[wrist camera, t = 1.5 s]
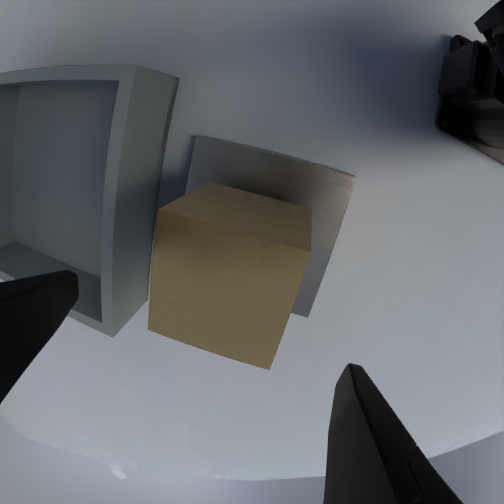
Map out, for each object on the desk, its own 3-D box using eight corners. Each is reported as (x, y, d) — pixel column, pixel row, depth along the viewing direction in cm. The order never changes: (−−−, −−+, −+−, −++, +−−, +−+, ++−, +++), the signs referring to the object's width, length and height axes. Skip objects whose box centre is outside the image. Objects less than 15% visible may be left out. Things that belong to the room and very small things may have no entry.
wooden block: (312, 209, 15) (311, 252, 10) (283, 300, 17) (269, 369, 12) (209, 181, 15) (158, 209, 10) (193, 272, 17) (147, 329, 12)
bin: (179, 78, 16) (137, 65, 12) (147, 299, 23) (113, 337, 18) (22, 76, 18) (-23, 77, 13) (15, 243, 24) (-22, 264, 19)
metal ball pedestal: (353, 175, 17) (383, 209, 9) (308, 309, 20) (300, 399, 13) (201, 135, 18) (127, 143, 10) (178, 270, 21) (117, 338, 14)
